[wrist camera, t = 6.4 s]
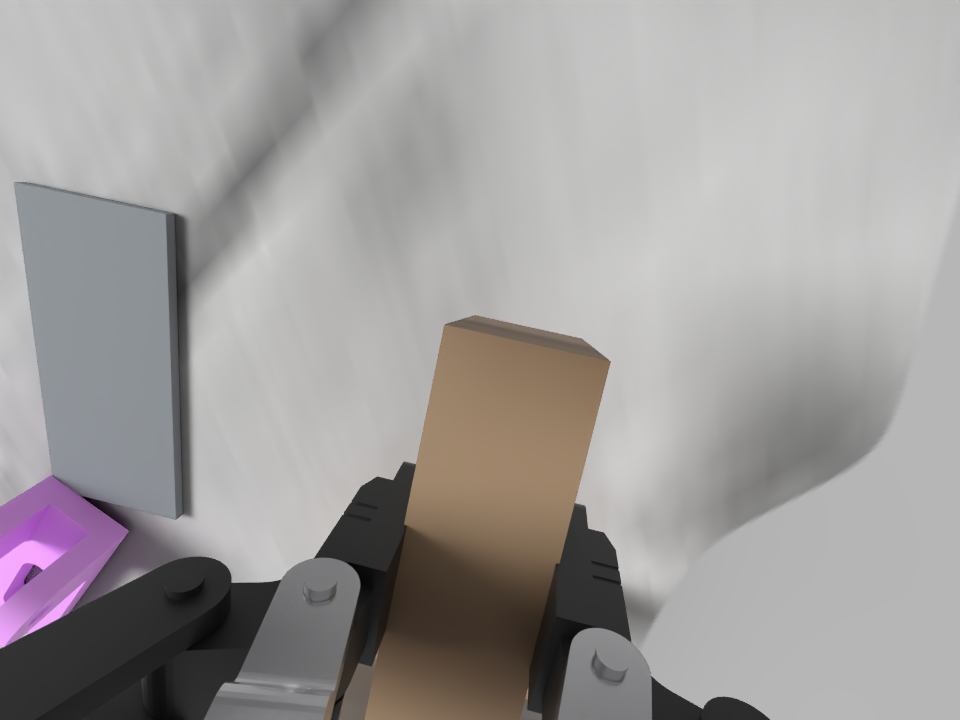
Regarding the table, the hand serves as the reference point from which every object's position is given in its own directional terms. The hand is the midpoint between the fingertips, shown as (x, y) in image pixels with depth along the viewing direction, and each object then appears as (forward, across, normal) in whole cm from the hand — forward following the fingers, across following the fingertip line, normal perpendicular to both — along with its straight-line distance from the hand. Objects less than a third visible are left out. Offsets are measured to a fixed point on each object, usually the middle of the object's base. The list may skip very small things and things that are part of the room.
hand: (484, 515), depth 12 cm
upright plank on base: (+2, 0, +2) cm, 3 cm away
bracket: (+13, +27, +21) cm, 36 cm away
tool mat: (+13, +22, +6) cm, 26 cm away
